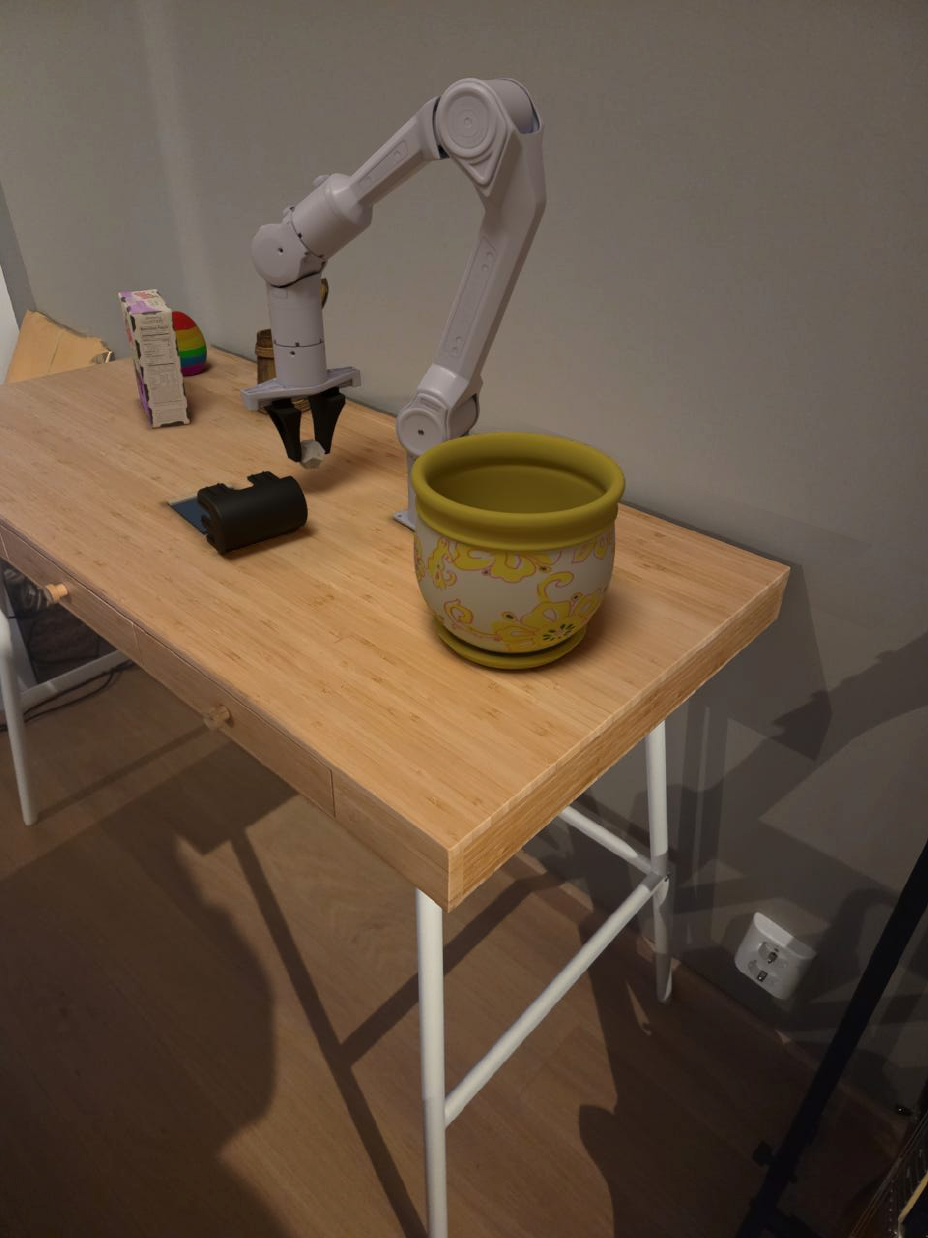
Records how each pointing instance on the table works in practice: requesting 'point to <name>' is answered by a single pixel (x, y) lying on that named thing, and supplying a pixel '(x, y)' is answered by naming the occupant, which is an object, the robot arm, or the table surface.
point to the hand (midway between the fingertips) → (309, 455)
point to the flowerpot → (514, 543)
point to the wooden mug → (266, 355)
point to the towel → (191, 509)
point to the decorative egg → (189, 344)
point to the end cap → (252, 511)
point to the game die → (311, 454)
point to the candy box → (155, 357)
